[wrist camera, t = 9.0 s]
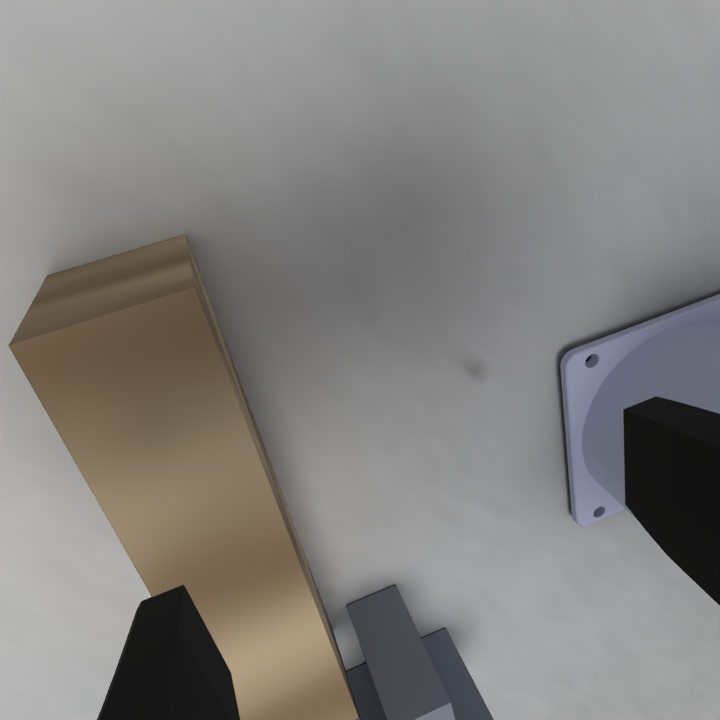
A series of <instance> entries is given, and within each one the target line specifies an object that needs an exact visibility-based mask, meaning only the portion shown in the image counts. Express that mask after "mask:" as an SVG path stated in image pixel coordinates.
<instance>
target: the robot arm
mask: <svg viewBox="0 0 720 720" xmlns="http://www.w3.org/2000/svg"><path fill="white" fill-rule="evenodd" d="M591 354H592V355H591ZM590 355H591V358H590V360H589V361H587V362H586V359H587V358H588V356H590ZM585 362H586V363H585ZM560 369H561V382H562V395H563V407H564V420H565V433H566V446H567V459H568V472H569V485H570V498H571V511H572V518H573V520H574V521H575V522H576V523H577V524H578V525H580V526H587V525H590V524H592V523H595V522H597V521H599V520H602V519H604V518H606V517H609V516H611V515H613V514H616V513H618V512H620V511H623V510H625V509H627V510H628V511H629V512H630V513H631V514H632V515H633V516H634V517H635V518H636V519H637V520H638V521H639V522H640V523H641V525H642V526H643V527H644V528H645V530H646V531H647V532H648V533H649V534H650V536H651V537H652V538H653V539H654V540H655V541H656V543H657V544H658V545H659V546H660V547H661V548H662V550H663V551H664V552H665V553H666V554H667V555H668V556H669V557H670V558H671V559H672V560H673V561H674V562H675V563H676V564H677V565H678V566H679V567H680V568H681V569H682V570H683V571H684V572H685V573H686V574H687V575H688V576H689V577H690V578H691V579H692V580H693V581H695V582H696V583H697V584H698V585H699V586H700V587H701V588H702V589H703V590H704V591H705V592H706V593H707V594H708V595H709V596H710V597H711V598H712V599H713V600H715V601H716V602H717V603H718V604H719V605H720V294H718V295H715V296H713V297H710V298H707V299H705V300H702V301H699V302H697V303H694V304H691V305H689V306H686V307H683V308H681V309H678V310H675V311H673V312H670V313H667V314H665V315H662V316H659V317H657V318H654V319H651V320H649V321H646V322H643V323H641V324H638V325H635V326H633V327H630V328H627V329H625V330H622V331H619V332H617V333H614V334H611V335H609V336H606V337H603V338H601V339H598V340H595V341H593V342H590V343H587V344H585V345H582V346H579V347H577V348H574V349H572V350H570V351H568V352H567V353H566V354H565V355H564V356H563V358H562V360H561V365H560ZM97 720H240V716H239V710H238V705H237V700H236V695H235V690H234V685H233V680H232V675H231V672H230V670H229V668H228V666H227V664H226V662H225V660H224V658H223V657H222V655H221V653H220V651H219V649H218V647H217V645H216V644H215V642H214V640H213V638H212V636H211V634H210V632H209V630H208V629H207V627H206V625H205V623H204V621H203V619H202V617H201V615H200V614H199V612H198V610H197V608H196V606H195V604H194V602H193V601H192V599H191V597H190V595H189V593H188V591H187V589H186V587H185V586H184V585H181V586H179V587H176V588H174V589H171V590H169V591H166V592H164V593H161V594H159V595H156V596H154V597H151V598H149V599H146V600H144V601H141V603H140V605H139V607H138V609H137V611H136V614H135V617H134V620H133V622H132V625H131V628H130V631H129V634H128V637H127V640H126V643H125V646H124V648H123V651H122V654H121V657H120V660H119V663H118V665H117V668H116V671H115V674H114V676H113V679H112V682H111V684H110V687H109V690H108V693H107V695H106V698H105V701H104V703H103V706H102V709H101V711H100V714H99V716H98V719H97Z"/></svg>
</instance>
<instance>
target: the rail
mask: <svg viewBox="0 0 720 720" xmlns="http://www.w3.org/2000/svg"><path fill="white" fill-rule="evenodd" d="M9 347H10V349H11V351H12V352H13V354H14V356H15V358H16V359H17V361H18V363H19V365H20V366H21V368H22V370H23V372H24V373H25V375H26V377H27V379H28V380H29V382H30V384H31V386H32V388H33V389H34V391H35V393H36V395H37V396H38V398H39V400H40V402H41V403H42V405H43V407H44V409H45V410H46V412H47V414H48V416H49V417H50V419H51V421H52V423H53V424H54V426H55V428H56V430H57V431H58V433H59V435H60V437H61V438H62V440H63V442H64V444H65V445H66V447H67V449H68V451H69V452H70V454H71V456H72V458H73V459H74V461H75V463H76V465H77V466H78V468H79V470H80V472H81V473H82V475H83V477H84V479H85V480H86V482H87V484H88V486H89V487H90V489H91V491H92V493H93V494H94V496H95V498H96V500H97V501H98V503H99V505H100V507H101V508H102V510H103V512H104V514H105V515H106V517H107V519H108V521H109V522H110V524H111V526H112V528H113V529H114V531H115V533H116V535H117V536H118V538H119V540H120V542H121V543H122V545H123V547H124V549H125V550H126V552H127V554H128V556H129V557H130V559H131V561H132V563H133V564H134V566H135V568H136V570H137V571H138V573H139V575H140V577H141V578H142V580H143V582H144V584H145V585H146V587H147V589H148V591H149V593H150V594H151V596H152V597H154V596H156V595H159V594H161V593H164V592H166V591H169V590H171V589H174V588H176V587H179V586H181V585H184V586H185V587H186V589H187V591H188V593H189V595H190V597H191V599H192V601H193V602H194V604H195V606H196V608H197V610H198V612H199V614H200V615H201V617H202V619H203V621H204V623H205V625H206V627H207V629H208V630H209V632H210V634H211V636H212V638H213V640H214V642H215V644H216V645H217V647H218V649H219V651H220V653H221V655H222V657H223V658H224V660H225V662H226V664H227V666H228V668H229V670H230V672H231V675H232V680H233V685H234V690H235V695H236V700H237V705H238V710H239V716H240V720H361V718H360V714H359V711H358V708H357V705H356V702H355V699H354V695H353V692H352V689H351V686H350V683H349V680H348V677H347V673H346V670H345V667H344V664H343V661H342V658H341V654H340V651H339V648H338V645H337V642H336V639H335V636H334V632H333V630H332V627H331V624H330V622H329V619H328V616H327V614H326V611H325V608H324V605H323V603H322V600H321V597H320V595H319V592H318V589H317V587H316V584H315V581H314V579H313V576H312V573H311V571H310V568H309V565H308V563H307V560H306V557H305V555H304V552H303V549H302V547H301V544H300V541H299V538H298V536H297V533H296V530H295V528H294V525H293V522H292V520H291V517H290V514H289V512H288V509H287V506H286V504H285V501H284V498H283V496H282V493H281V490H280V488H279V485H278V482H277V479H276V477H275V474H274V471H273V469H272V466H271V463H270V461H269V458H268V455H267V453H266V450H265V447H264V445H263V442H262V439H261V437H260V434H259V431H258V429H257V426H256V423H255V421H254V418H253V415H252V412H251V410H250V407H249V404H248V402H247V399H246V396H245V394H244V391H243V388H242V386H241V383H240V380H239V378H238V375H237V372H236V370H235V367H234V364H233V362H232V359H231V356H230V353H229V351H228V348H227V345H226V343H225V340H224V337H223V335H222V332H221V329H220V327H219V324H218V321H217V319H216V316H215V313H214V311H213V308H212V305H211V303H210V300H209V297H208V295H207V292H206V289H205V286H204V284H203V281H202V278H201V276H200V273H199V270H198V268H197V265H196V262H195V260H194V257H193V254H192V252H191V249H190V246H189V244H188V241H187V238H186V236H185V234H184V235H181V236H178V237H174V238H171V239H168V240H164V241H161V242H158V243H154V244H151V245H148V246H144V247H141V248H138V249H134V250H131V251H128V252H124V253H121V254H118V255H114V256H111V257H108V258H104V259H101V260H98V261H94V262H91V263H88V264H84V265H81V266H78V267H74V268H71V269H67V270H64V271H61V272H57V273H54V274H51V275H47V277H46V279H45V280H44V282H43V284H42V286H41V288H40V290H39V291H38V293H37V295H36V297H35V299H34V300H33V302H32V304H31V306H30V308H29V309H28V311H27V313H26V315H25V317H24V319H23V320H22V322H21V324H20V326H19V328H18V329H17V331H16V333H15V335H14V337H13V339H12V340H11V342H10V344H9Z"/></svg>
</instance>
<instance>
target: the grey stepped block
mask: <svg viewBox="0 0 720 720" xmlns="http://www.w3.org/2000/svg"><path fill="white" fill-rule="evenodd" d="M347 608H348V611H349V614H350V617H351V620H352V622H353V625H354V628H355V631H356V634H357V637H358V639H359V642H360V645H361V648H362V651H363V654H364V656H365V659H366V662H367V663H365V664H363V665H360V666H358V667H356V668H354V669H351V670H349V671H347V672H346V673H347V677H348V680H349V683H350V686H351V689H352V692H353V695H354V699H355V702H356V705H357V708H358V711H359V714H360V718H361V720H493V718H492V716H491V714H490V712H489V710H488V708H487V706H486V704H485V702H484V700H483V699H482V697H481V695H480V693H479V691H478V689H477V687H476V685H475V683H474V681H473V679H472V677H471V676H470V674H469V672H468V670H467V668H466V666H465V664H464V662H463V660H462V658H461V656H460V655H459V653H458V651H457V649H456V647H455V645H454V643H453V641H452V639H451V637H450V635H449V633H448V632H447V630H446V628H444V629H442V630H440V631H437V632H435V633H433V634H431V635H428V636H426V637H424V638H422V639H421V638H420V636H419V634H418V632H417V630H416V627H415V625H414V623H413V621H412V619H411V617H410V615H409V612H408V610H407V608H406V606H405V604H404V602H403V600H402V598H401V595H400V593H399V591H398V589H397V587H396V585H394V586H391V587H389V588H387V589H384V590H382V591H380V592H377V593H375V594H373V595H370V596H368V597H365V598H363V599H361V600H358V601H356V602H354V603H351V604H349V605H347Z"/></svg>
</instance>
